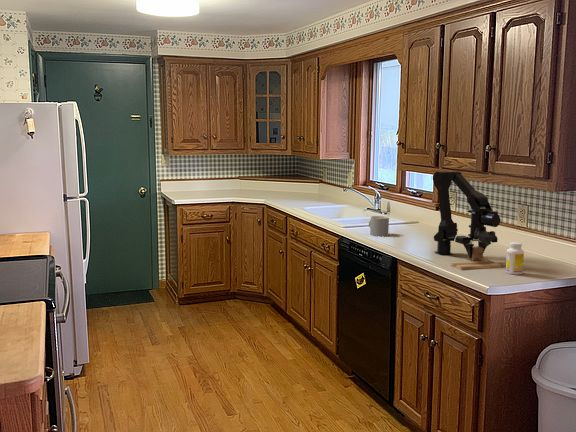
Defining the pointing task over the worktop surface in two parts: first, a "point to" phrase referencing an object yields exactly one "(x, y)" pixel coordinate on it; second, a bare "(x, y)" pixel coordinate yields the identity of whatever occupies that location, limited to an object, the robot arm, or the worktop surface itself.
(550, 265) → the worktop surface
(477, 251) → the brown block with bar
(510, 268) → the supplement bottle
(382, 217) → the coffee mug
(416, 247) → the worktop surface
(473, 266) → the plank
